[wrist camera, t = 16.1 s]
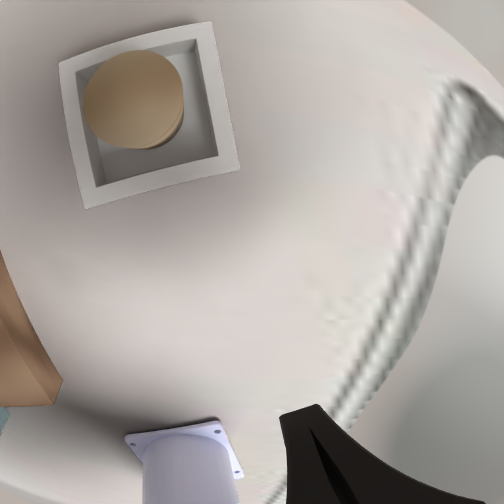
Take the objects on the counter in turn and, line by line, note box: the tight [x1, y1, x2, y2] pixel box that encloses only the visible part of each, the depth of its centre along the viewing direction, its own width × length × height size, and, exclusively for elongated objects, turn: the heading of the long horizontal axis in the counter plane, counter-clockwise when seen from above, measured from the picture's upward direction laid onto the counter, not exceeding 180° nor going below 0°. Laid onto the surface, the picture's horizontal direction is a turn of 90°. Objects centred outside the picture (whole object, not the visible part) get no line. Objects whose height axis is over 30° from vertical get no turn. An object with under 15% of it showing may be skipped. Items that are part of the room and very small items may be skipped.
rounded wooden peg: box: [83, 50, 184, 150], centre depth 11 cm, size 4×4×5 cm
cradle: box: [58, 21, 240, 210], centre depth 13 cm, size 7×7×2 cm
